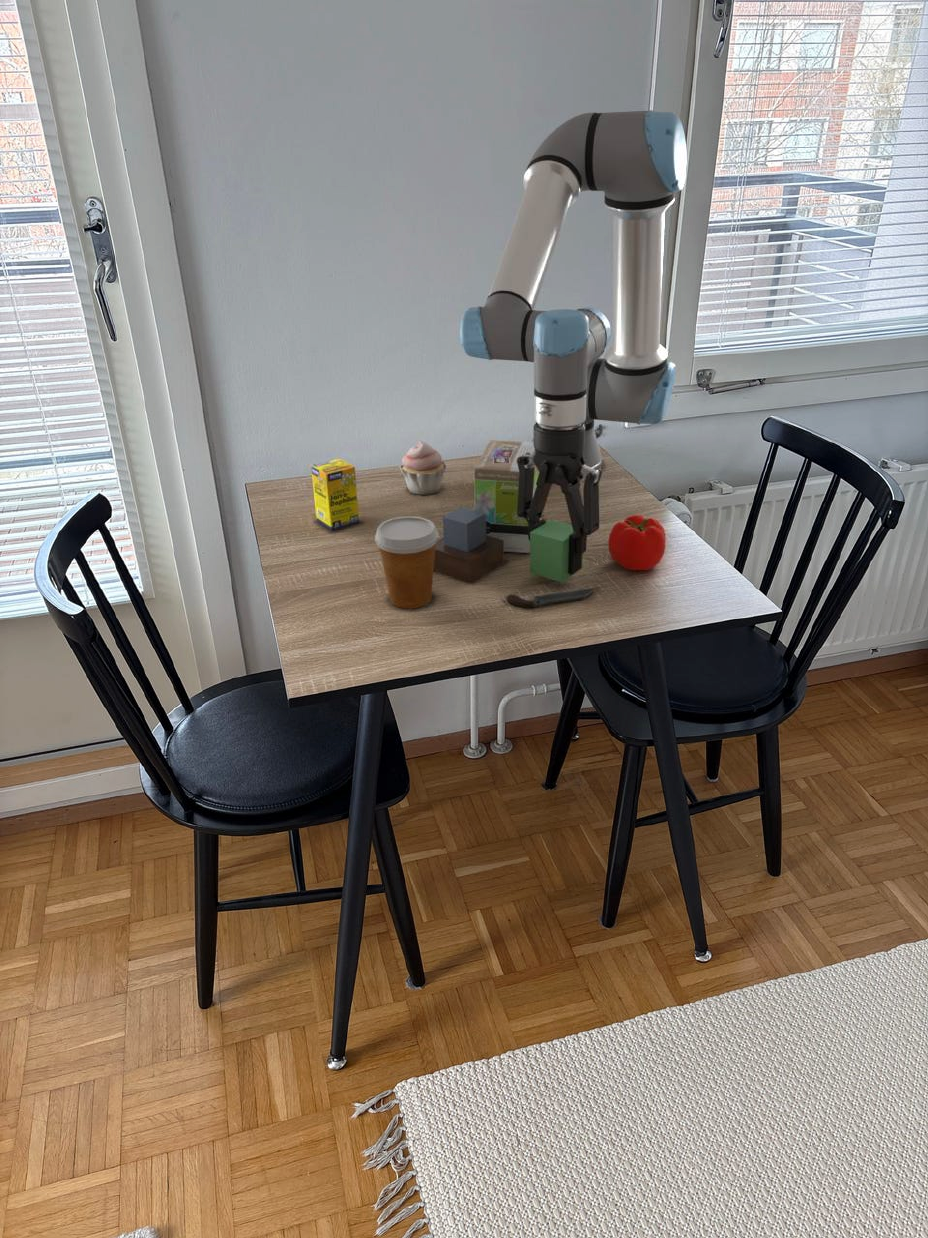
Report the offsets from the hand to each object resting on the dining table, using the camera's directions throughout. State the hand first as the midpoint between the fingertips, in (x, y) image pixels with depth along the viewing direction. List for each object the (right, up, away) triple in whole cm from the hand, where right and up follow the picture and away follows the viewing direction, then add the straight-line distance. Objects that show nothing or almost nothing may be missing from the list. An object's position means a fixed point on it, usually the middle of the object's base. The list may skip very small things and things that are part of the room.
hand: (556, 565), depth 146 cm
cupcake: (-22, +17, +36) cm, 46 cm away
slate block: (-14, +4, +5) cm, 16 cm away
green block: (0, -1, 0) cm, 1 cm away
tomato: (+14, 0, +5) cm, 15 cm away
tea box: (-7, +6, +17) cm, 19 cm away
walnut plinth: (-14, 0, +7) cm, 16 cm away
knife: (-1, -5, -4) cm, 7 cm away
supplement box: (-37, +9, +24) cm, 45 cm away
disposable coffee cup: (-23, -6, -3) cm, 24 cm away
